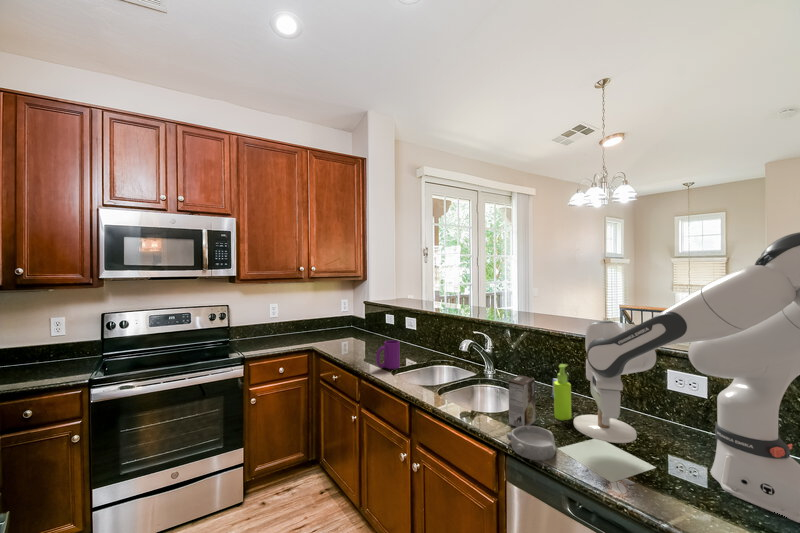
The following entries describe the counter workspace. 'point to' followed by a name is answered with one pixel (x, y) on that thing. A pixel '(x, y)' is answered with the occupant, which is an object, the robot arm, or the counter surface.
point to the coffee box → (521, 401)
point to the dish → (532, 442)
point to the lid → (605, 429)
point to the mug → (390, 354)
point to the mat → (606, 459)
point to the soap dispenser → (562, 395)
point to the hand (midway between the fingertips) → (603, 420)
